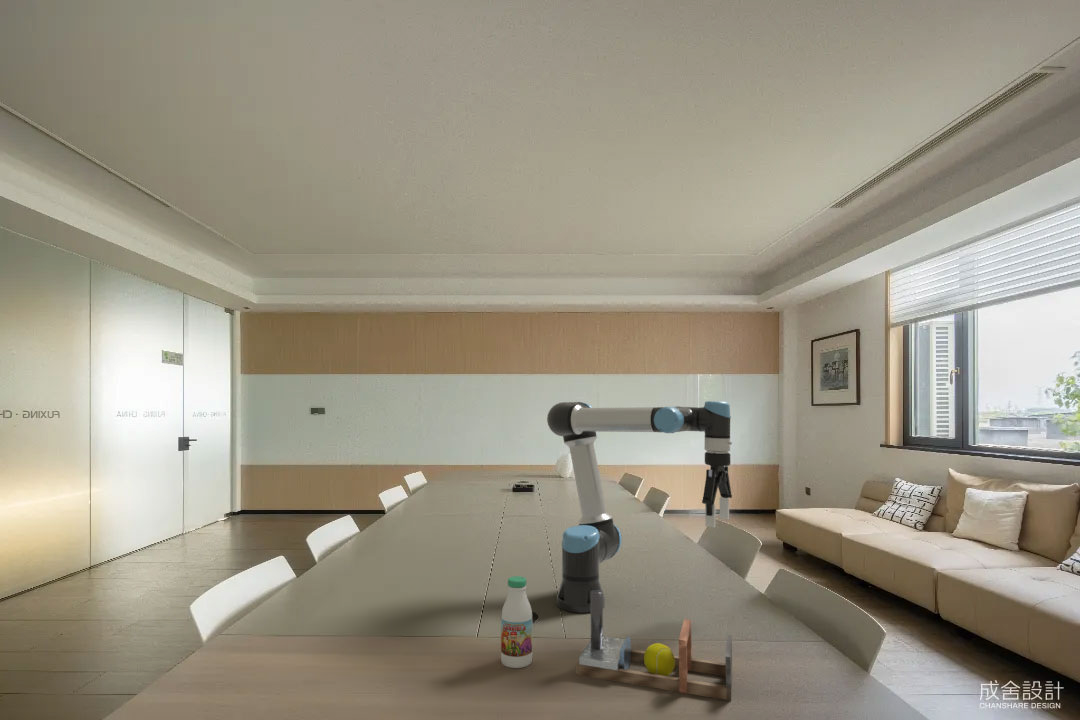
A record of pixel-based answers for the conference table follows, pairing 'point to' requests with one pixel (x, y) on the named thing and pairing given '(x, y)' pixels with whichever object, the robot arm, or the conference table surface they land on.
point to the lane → (681, 662)
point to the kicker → (604, 642)
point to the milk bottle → (516, 626)
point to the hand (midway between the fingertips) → (717, 522)
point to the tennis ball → (659, 659)
